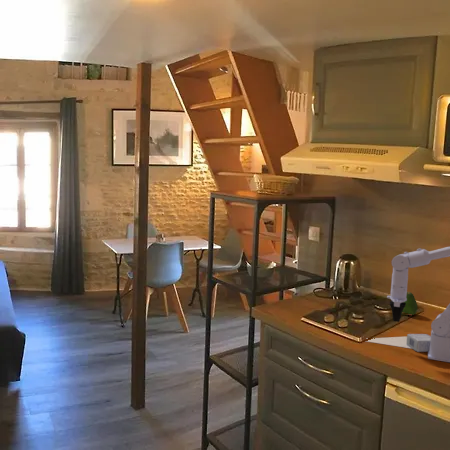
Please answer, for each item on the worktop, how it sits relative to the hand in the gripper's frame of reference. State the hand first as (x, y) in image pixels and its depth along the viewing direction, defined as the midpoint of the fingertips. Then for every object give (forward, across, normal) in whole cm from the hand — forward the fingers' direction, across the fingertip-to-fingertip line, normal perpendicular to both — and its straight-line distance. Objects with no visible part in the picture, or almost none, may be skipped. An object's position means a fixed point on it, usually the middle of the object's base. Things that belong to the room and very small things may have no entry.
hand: (396, 321), depth 191 cm
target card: (+10, -12, -3) cm, 16 cm away
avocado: (+11, -48, +3) cm, 49 cm away
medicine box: (+8, -2, +6) cm, 10 cm away
